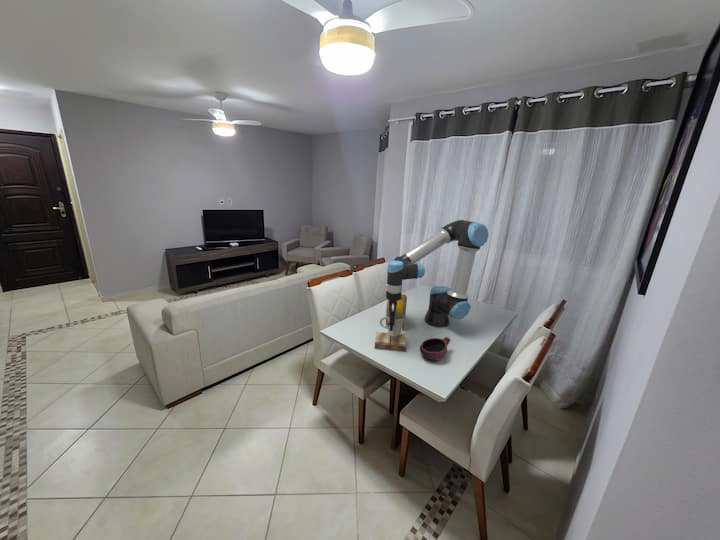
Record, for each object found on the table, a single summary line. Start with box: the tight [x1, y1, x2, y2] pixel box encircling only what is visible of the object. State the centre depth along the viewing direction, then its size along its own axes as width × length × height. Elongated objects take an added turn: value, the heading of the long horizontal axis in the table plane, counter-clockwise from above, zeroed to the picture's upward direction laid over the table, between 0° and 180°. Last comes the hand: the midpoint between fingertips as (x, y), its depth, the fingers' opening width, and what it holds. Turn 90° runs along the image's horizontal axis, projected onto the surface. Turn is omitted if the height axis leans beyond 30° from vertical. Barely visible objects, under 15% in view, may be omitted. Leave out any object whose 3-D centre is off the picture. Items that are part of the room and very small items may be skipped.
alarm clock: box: [385, 293, 408, 329], centre depth 165 cm, size 18×11×19 cm, turn 168°
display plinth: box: [374, 331, 407, 353], centre depth 144 cm, size 16×11×4 cm
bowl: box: [419, 336, 451, 361], centre depth 136 cm, size 16×13×8 cm
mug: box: [379, 312, 404, 336], centre depth 141 cm, size 8×13×10 cm, turn 78°
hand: (390, 331), depth 143 cm, fingers closed on mug, 6 cm apart
